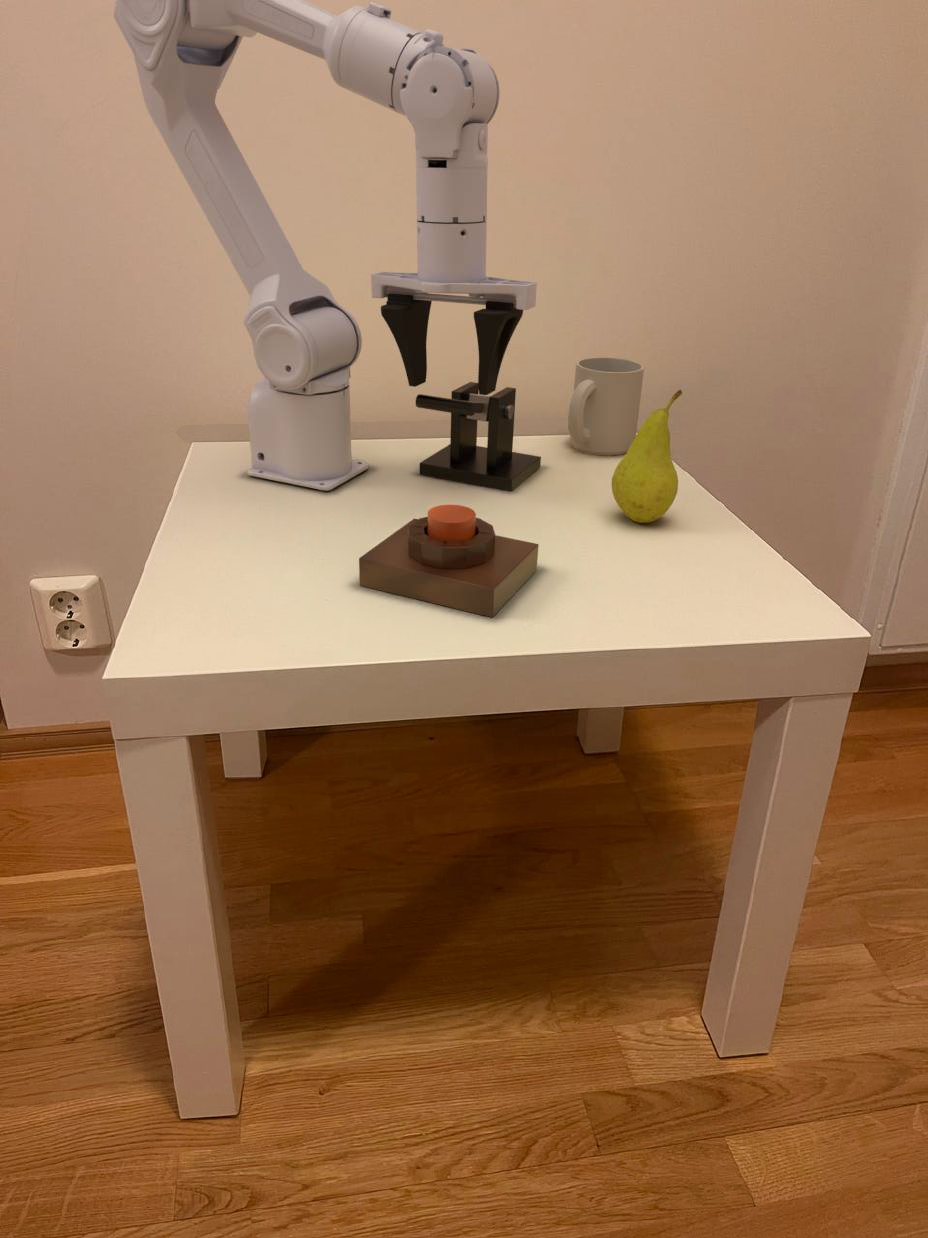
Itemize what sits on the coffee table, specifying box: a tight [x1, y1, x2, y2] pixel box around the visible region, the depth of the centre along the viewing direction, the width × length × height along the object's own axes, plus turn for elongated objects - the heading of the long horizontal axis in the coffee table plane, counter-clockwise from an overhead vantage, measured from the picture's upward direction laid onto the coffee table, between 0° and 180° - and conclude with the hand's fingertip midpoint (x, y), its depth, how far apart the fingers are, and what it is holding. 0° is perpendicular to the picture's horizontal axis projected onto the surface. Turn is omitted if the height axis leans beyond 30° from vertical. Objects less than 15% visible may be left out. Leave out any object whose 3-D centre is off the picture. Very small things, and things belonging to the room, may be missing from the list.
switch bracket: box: [419, 381, 542, 492], centre depth 91 cm, size 8×10×8 cm
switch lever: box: [415, 393, 491, 423], centre depth 86 cm, size 11×6×2 cm, turn 155°
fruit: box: [611, 389, 683, 524], centre depth 79 cm, size 6×6×12 cm
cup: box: [567, 356, 645, 456], centre depth 98 cm, size 7×10×9 cm
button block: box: [358, 516, 540, 618], centre depth 69 cm, size 11×9×4 cm
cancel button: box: [427, 504, 477, 541], centre depth 68 cm, size 4×4×2 cm
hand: (451, 388), depth 80 cm, fingers open, 6 cm apart
